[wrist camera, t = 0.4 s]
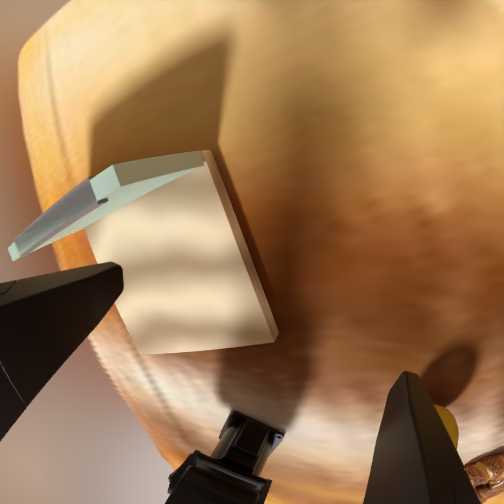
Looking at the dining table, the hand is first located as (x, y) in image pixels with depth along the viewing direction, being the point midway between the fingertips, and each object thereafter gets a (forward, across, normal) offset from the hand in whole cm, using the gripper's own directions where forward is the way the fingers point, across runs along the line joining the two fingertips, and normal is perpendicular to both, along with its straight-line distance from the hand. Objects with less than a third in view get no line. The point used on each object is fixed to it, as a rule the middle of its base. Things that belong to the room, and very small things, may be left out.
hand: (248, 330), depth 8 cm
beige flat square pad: (+14, +12, +10) cm, 21 cm away
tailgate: (+13, +16, +3) cm, 21 cm away
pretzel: (+13, -32, +26) cm, 43 cm away
